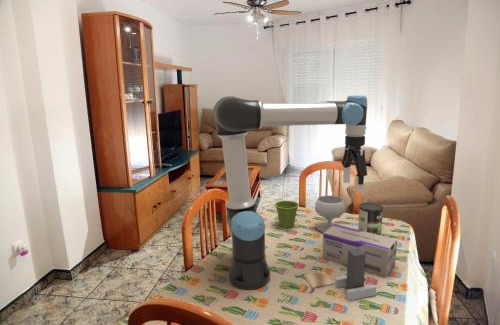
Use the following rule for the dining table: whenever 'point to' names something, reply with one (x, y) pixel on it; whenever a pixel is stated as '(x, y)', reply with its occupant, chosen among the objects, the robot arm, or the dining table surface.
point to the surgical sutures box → (373, 245)
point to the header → (355, 289)
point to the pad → (318, 279)
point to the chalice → (329, 210)
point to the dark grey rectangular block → (355, 269)
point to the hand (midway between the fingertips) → (352, 187)
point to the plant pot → (286, 213)
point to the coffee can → (370, 218)
